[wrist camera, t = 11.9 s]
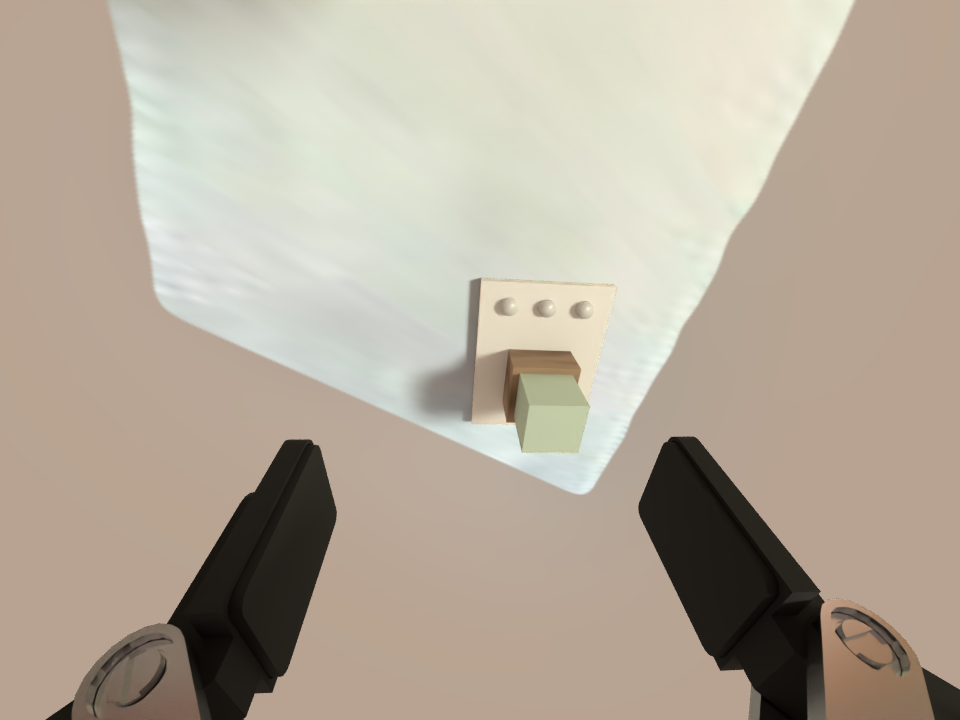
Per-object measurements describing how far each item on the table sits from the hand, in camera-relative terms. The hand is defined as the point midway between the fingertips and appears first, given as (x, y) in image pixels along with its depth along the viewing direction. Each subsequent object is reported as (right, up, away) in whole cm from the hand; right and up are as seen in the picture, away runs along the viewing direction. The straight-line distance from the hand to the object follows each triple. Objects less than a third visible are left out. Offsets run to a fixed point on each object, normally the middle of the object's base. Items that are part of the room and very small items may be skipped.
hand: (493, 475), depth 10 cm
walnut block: (+6, +1, +32) cm, 32 cm away
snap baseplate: (+6, +3, +31) cm, 32 cm away
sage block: (+6, -1, +28) cm, 29 cm away
